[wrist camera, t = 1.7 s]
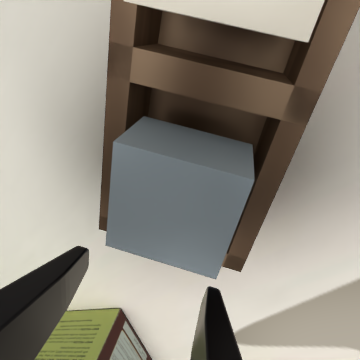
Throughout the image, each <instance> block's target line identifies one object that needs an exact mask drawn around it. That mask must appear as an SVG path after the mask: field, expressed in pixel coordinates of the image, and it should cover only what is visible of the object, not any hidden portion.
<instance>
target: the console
mask: <svg viewBox="0 0 360 360" xmlns="http://www.w3.org/2000/svg"><path fill="white" fill-rule="evenodd" d="M359 7H360V0H325V1H324V3H323V6H322V8H321V11H320V13H319V16H318V19H317V21H316V24H315V26H314V29H313V31H312V34H311V37H310V39H309V42H303V41H297V40H291V39H286V38H282V37H278V36H273V35H269V34H264V33H260V32H255V31H251V30H246V29H242V28H238V27H233V26H229V25H224V24H220V23H215V22H211V21H206V20H202V19H198V18H193V17H189V16H184V15H180V14H175V13H171V12H166V11H162V10H158V9H154V8H150V7H146V6H142V5H138V4H134V3H130V2H125V1H124V0H111V15H110V33H109V52H108V70H107V89H106V108H105V126H104V145H103V163H102V182H101V200H100V219H99V229H100V230H104V231H107V220H108V207H109V193H110V179H111V166H112V152H113V141H115V140H116V139H117V138H118V137H119V136H121V135H122V134H123V133H124V132H125V131H127V130H128V129H129V128H130V127H131V126H133V125H134V124H135V123H136V122H137V121H139V120H140V119H141V118H142V117H143V116H146V117H149V118H153V119H157V120H161V121H165V122H169V123H172V124H176V125H180V126H184V127H188V128H192V129H195V130H199V131H203V132H207V133H211V134H215V135H218V136H222V137H226V138H230V139H234V140H238V141H241V142H245V143H249V144H253V161H254V177H255V180H254V183H253V186H252V188H251V191H250V193H249V196H248V198H247V201H246V204H245V206H244V209H243V211H242V214H241V216H240V219H239V222H238V224H237V227H236V229H235V232H234V234H233V237H232V240H231V242H230V245H229V247H228V250H227V252H226V255H225V258H224V260H223V263H222V265H221V266H223V267H226V268H229V269H232V270H236V271H239V272H241V270H242V268H243V266H244V264H245V261H246V259H247V257H248V255H249V252H250V250H251V248H252V246H253V243H254V241H255V239H256V237H257V235H258V232H259V230H260V228H261V226H262V223H263V221H264V219H265V217H266V215H267V212H268V210H269V208H270V206H271V203H272V201H273V199H274V197H275V194H276V192H277V190H278V188H279V186H280V183H281V181H282V179H283V177H284V174H285V172H286V170H287V168H288V166H289V163H290V161H291V159H292V157H293V154H294V152H295V150H296V148H297V145H298V143H299V141H300V139H301V137H302V134H303V132H304V130H305V128H306V125H307V123H308V121H309V119H310V117H311V114H312V112H313V110H314V108H315V105H316V103H317V101H318V99H319V96H320V94H321V92H322V90H323V88H324V85H325V83H326V81H327V79H328V76H329V74H330V72H331V70H332V68H333V65H334V63H335V61H336V59H337V56H338V54H339V52H340V50H341V47H342V45H343V43H344V41H345V39H346V36H347V34H348V32H349V30H350V27H351V25H352V23H353V21H354V19H355V16H356V14H357V12H358V10H359Z"/></svg>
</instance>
